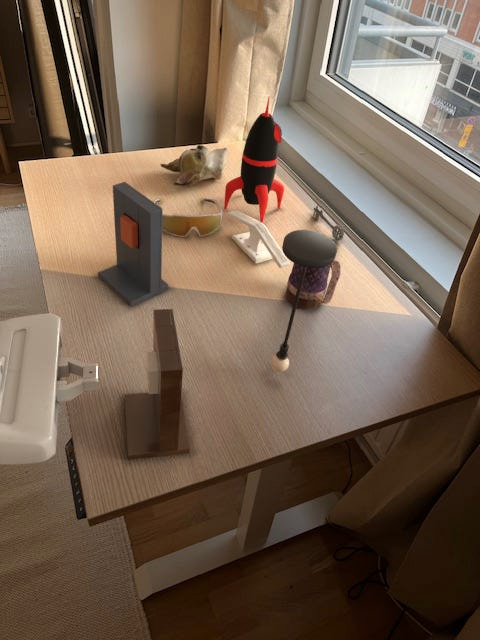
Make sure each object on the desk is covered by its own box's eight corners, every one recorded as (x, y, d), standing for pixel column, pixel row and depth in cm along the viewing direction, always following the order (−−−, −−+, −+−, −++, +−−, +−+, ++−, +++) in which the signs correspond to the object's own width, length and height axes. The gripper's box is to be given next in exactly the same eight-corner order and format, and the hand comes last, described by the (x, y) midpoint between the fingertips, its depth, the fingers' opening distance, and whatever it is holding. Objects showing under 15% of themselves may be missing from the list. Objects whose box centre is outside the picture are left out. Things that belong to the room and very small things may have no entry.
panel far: (131, 306, 88) (128, 221, 77) (98, 276, 93) (90, 192, 81) (168, 288, 93) (170, 205, 81) (135, 261, 97) (132, 178, 86)
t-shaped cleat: (270, 279, 98) (275, 256, 94) (219, 224, 110) (221, 202, 106) (287, 274, 100) (293, 251, 96) (235, 221, 112) (238, 198, 108)
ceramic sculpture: (237, 151, 116) (173, 161, 111) (235, 186, 122) (174, 196, 117) (218, 131, 123) (158, 140, 118) (217, 165, 129) (160, 174, 124)
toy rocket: (261, 226, 111) (280, 110, 94) (221, 209, 114) (233, 93, 98) (282, 208, 118) (304, 96, 101) (244, 192, 121) (259, 81, 104)
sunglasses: (158, 240, 103) (158, 216, 100) (149, 209, 115) (149, 188, 112) (227, 237, 106) (229, 215, 104) (212, 208, 118) (213, 187, 115)
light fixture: (247, 381, 79) (273, 246, 62) (268, 355, 84) (297, 223, 67) (286, 401, 77) (324, 268, 60) (304, 374, 82) (345, 243, 65)
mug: (278, 288, 96) (289, 234, 88) (310, 282, 99) (325, 229, 91) (304, 325, 90) (319, 270, 82) (338, 317, 92) (356, 263, 84)
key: (342, 244, 110) (346, 231, 108) (338, 245, 110) (342, 231, 107) (314, 214, 118) (317, 201, 115) (310, 215, 117) (314, 202, 115)
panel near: (128, 460, 67) (123, 373, 55) (124, 398, 74) (119, 311, 62) (189, 453, 69) (197, 368, 57) (180, 394, 76) (185, 308, 64)
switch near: (148, 394, 64) (148, 371, 61) (146, 375, 66) (146, 351, 63) (158, 393, 64) (158, 370, 61) (156, 374, 67) (156, 350, 64)
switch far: (132, 248, 85) (131, 226, 83) (121, 239, 87) (119, 217, 84) (138, 246, 86) (137, 224, 83) (126, 237, 88) (126, 215, 85)
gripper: (-8, 340, 69) (100, 334, 72) (-35, 478, 54) (101, 463, 58) (-18, 304, 65) (97, 300, 68) (-51, 444, 50) (97, 430, 53)
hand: (99, 376), depth 62 cm, fingers closed
